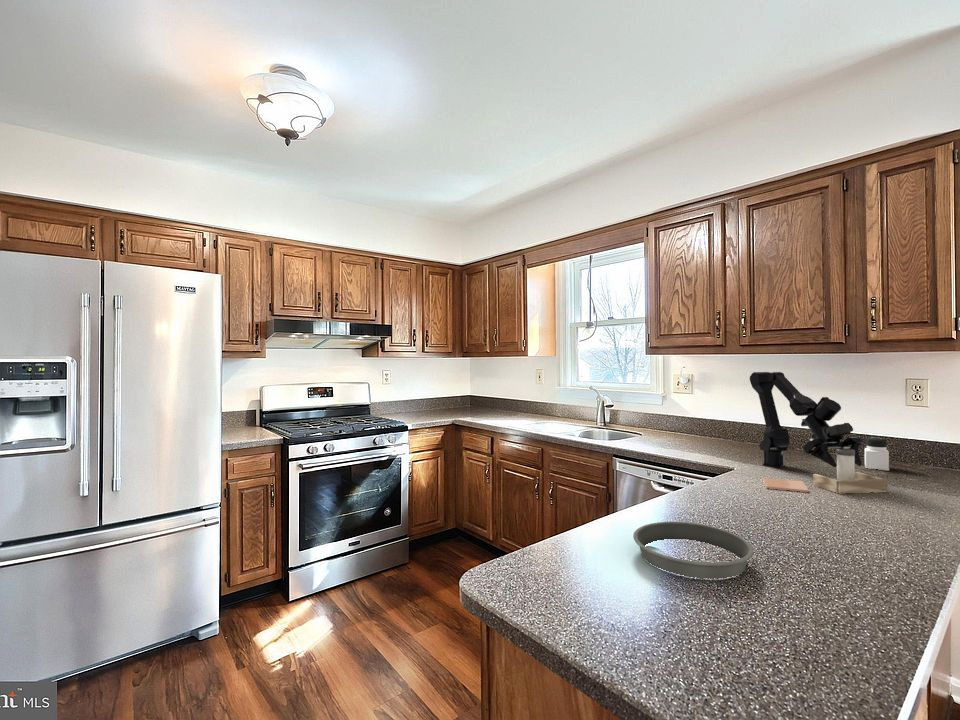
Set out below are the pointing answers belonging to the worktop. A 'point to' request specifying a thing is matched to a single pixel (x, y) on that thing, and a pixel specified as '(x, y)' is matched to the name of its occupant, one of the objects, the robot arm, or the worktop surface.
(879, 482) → the birch stall
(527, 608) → the worktop surface
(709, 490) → the worktop surface
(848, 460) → the cream spice jar
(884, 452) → the medicine bottle
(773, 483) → the terracotta tile
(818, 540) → the worktop surface
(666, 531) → the grey thin ring
